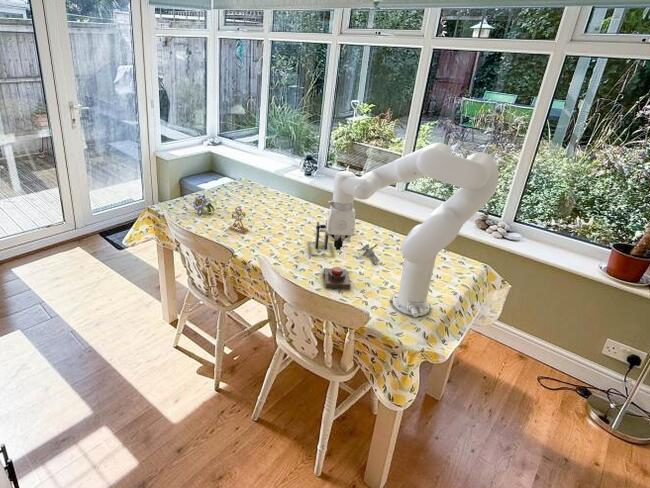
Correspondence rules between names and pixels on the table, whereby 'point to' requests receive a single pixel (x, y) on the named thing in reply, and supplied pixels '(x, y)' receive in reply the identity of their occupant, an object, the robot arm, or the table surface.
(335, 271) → the button
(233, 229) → the brown openwork figurine
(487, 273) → the table surface
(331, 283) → the button block
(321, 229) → the lever
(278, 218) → the table surface
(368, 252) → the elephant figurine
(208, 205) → the passion flower
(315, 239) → the black rod frame
